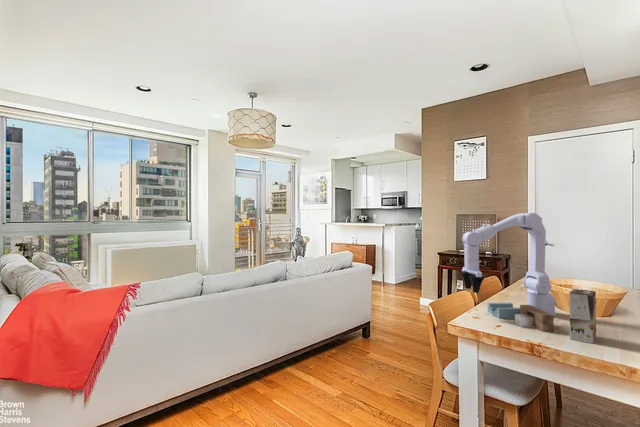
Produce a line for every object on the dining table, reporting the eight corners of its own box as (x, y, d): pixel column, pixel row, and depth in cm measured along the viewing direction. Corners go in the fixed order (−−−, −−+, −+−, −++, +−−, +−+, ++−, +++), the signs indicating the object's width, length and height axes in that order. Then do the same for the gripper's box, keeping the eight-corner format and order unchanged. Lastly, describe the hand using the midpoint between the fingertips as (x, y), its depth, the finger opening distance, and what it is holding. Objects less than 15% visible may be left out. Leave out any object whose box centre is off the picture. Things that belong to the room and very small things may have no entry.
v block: (510, 311, 144) (510, 302, 144) (523, 318, 134) (523, 308, 134) (487, 311, 144) (487, 302, 144) (499, 318, 134) (499, 308, 134)
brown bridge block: (530, 319, 133) (529, 304, 133) (553, 331, 119) (553, 315, 119) (520, 319, 133) (520, 304, 133) (542, 331, 119) (542, 315, 119)
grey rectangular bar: (545, 324, 128) (545, 313, 128) (552, 327, 124) (552, 317, 124) (514, 324, 128) (514, 314, 128) (520, 327, 124) (520, 317, 124)
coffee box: (593, 344, 107) (592, 295, 107) (569, 339, 112) (568, 292, 112) (596, 336, 114) (596, 291, 114) (573, 332, 118) (573, 288, 118)
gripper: (455, 257, 149) (456, 286, 149) (469, 261, 134) (470, 294, 134) (471, 257, 149) (471, 286, 149) (486, 261, 134) (487, 294, 134)
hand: (472, 290), depth 141 cm, fingers open, 7 cm apart
